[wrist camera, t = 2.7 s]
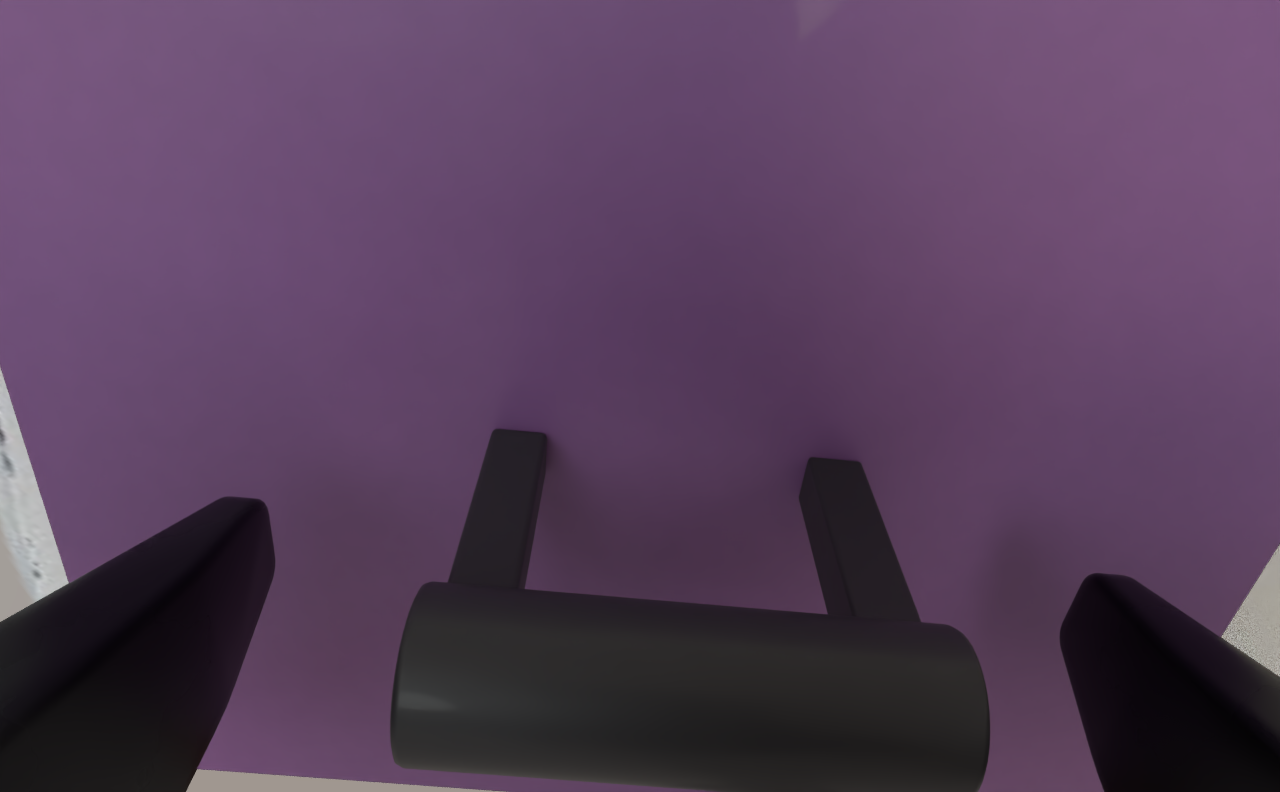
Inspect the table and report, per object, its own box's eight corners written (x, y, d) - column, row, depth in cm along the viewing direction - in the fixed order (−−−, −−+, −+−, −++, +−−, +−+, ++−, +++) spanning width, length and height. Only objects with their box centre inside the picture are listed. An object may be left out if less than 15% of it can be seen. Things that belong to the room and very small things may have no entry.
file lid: (1081, 804, 15) (1252, 1160, 11) (142, 734, 14) (-71, 1087, 10) (1640, -129, 8) (2802, -163, 4) (-180, -368, 7) (-1393, -757, 3)
